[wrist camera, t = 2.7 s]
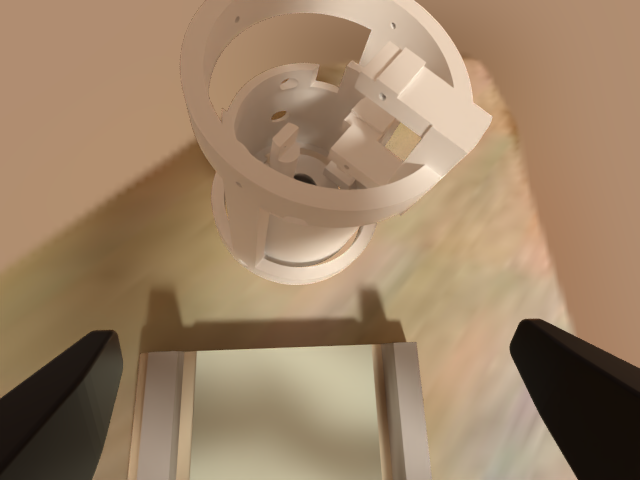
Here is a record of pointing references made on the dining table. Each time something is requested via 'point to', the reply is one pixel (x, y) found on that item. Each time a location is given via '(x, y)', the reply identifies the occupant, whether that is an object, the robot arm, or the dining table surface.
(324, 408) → the rail board
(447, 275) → the dining table surface
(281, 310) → the dining table surface
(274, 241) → the beige tall round piece
